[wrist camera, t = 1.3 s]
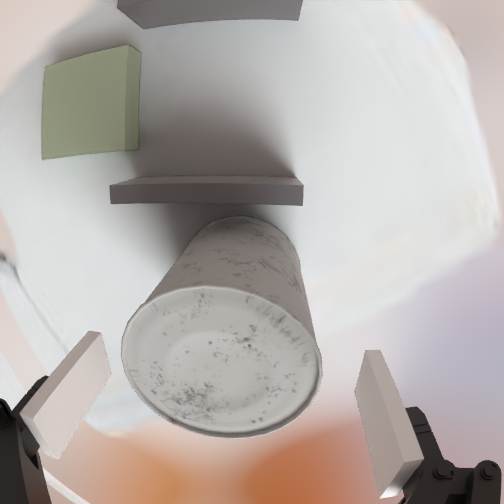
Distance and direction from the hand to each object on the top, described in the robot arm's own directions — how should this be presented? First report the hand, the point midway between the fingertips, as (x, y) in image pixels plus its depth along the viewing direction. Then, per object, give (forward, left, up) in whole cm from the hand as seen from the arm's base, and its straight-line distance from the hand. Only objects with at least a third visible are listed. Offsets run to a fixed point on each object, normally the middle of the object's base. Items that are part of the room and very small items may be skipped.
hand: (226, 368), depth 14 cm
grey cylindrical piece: (0, 0, -12) cm, 12 cm away
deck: (-12, +14, -12) cm, 22 cm away
